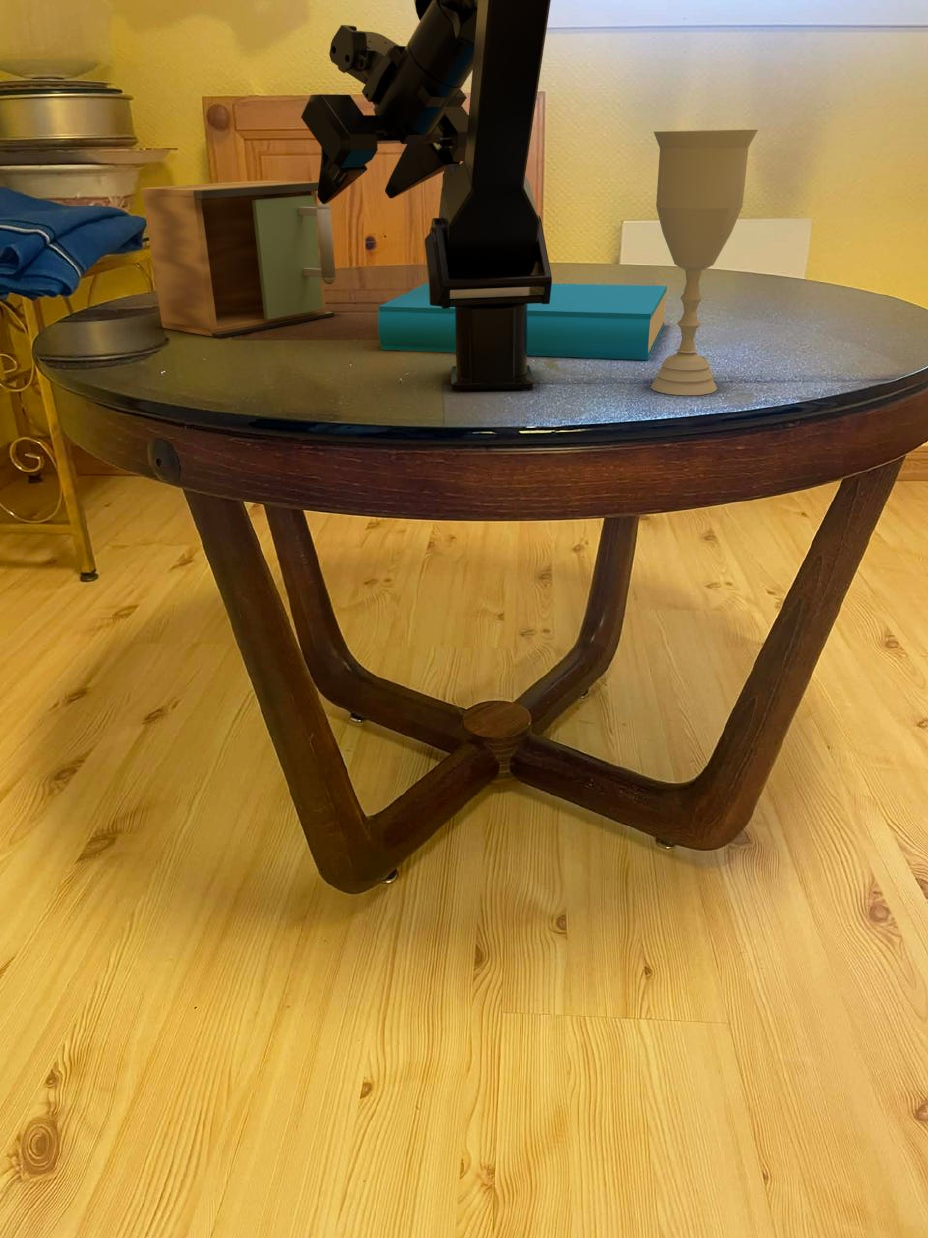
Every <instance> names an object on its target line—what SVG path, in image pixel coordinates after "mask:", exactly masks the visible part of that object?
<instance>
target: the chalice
mask: <svg viewBox="0 0 928 1238" xmlns="http://www.w3.org/2000/svg"><path fill="white" fill-rule="evenodd" d="M758 131H759V129H696V130H695V129H694V130H657V131H656V130H655V131H653V134H654V137H655V140H656V143H657V144H658V147H659V155H658V156H659V157H658V170H657V171H658V172H657V186H656V200H655V201H656V203H655V208H656V210H657V215H658V219H659V223H660V228H661V232H662V235H663V238H664V240H665V243H666V245H667V248H668V250H669V253H670V256H671V258H672V261H673V264H674V265H675V266H677V267H678V268H680V269H682V270H684V272H685V278H686V279H685V280H686V281H685V285H684V290H683V294H681V296H680V297H679V298H680V300H681V302H682V306H683V313H682V316H681V319H680V320H678V321H677V325H678V327H679V329H680V334H681V341H680V345H679V348H678V349H676V350H675V351H676V353H674V354H672V355H668V356H667V357H666V358H665V359H664V360H663V361H662V362H661V364H660V365H661V367H660V368H659V370H658V372H656V378H655V379H654V381H653V382H652V383H651V386H650V388H651V389H652V390H653V391H655V392H658V393H662V394H666V395H673V396H701V395H708V394H712V393H714V392H716V391H717V390H718V387H717V385H716V383H715V381H714V380H713V379H714V374H713V372H712V370H711V368H710V367H711V364H710V363H709V361H708V360H707V358H706V357H705V356H703V355H699V354H698V350H697V349H696V347H695V336H696V332H697V329H698V328H699V327H700V326H701V325H702V323H701V322H700V320H699V319H698V313H697V310H698V307H699V304H700V303H701V301H702V299H703V297H702V295H701V291H700V279H701V275H702V271H704V270H707V269H708V268H710V267H712V266H714V265H715V263H716V261H717V260H718V258H719V256H720V254H721V253H722V251H723V249H724V247H725V245H726V243H727V241H728V240H729V238H730V236H731V234H732V232H733V231H734V227H735V225H736V222H737V220H738V218H739V216H740V213H741V211H742V208H743V206H744V205H743V204H744V195H745V187H746V186H745V185H746V176H747V167H748V166H747V165H748V156H749V147H750V145H751V144H752V142H753V140H754V139H755V136H756V135H757V133H758Z"/></svg>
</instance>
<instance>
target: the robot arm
mask: <svg viewBox="0 0 928 1238" xmlns="http://www.w3.org/2000/svg"><path fill="white" fill-rule="evenodd" d="M551 2H552V0H413V3H414V7H415V12H416V15H417V18H418V20H419V22H418V24H417V26H416V28H415V29H414V31H413V33H412V35H411V36H410V38H409V41H408V42H407V44H406V45H399V44H398V43H397V42H395V41H394V40H391V39H390V38H388V37H387V36H385V35H383V34H381V33H378V32H374V31H367V30H366V31H365V30H358V28H357V26H355V25H348V24H341V25H340V27H339V28H338V30H337V31H336V32H335V34H334V36H333V37H332V40H331V42H330V48H329V53H328V55H329V59H330V62H331V63H333V64H334V65H336V66H337V70H338V71H340V72H341V73H343V74H348V75H349V76H351V77H352V78H354V79H356V80H357V81H359V82H360V83H361V84H363V85H364V86H363V88H362V90H361V93H362V95H363V97H364V98H365V99H366V101H367V102H368V103H372V104H373V106H374V108H373V113H374V114H363V111H362V110H361V109H360V108H359V105H357V103H356V102H355V100H354V99H353V98H352V96H351V95H350V94H327V93H326V94H325V93H323V94H322V93H321V94H319V93H318V94H311V95H310V96H309V97H308V100H307V102H306V104H305V106H304V108H303V110H302V112H301V114H300V115H301V116H300V118H301V120H302V121H303V122H304V124H305V125H306V127H307V128H308V130H309V132H310V133H311V134H312V136H313V137H314V138H315V140H316V141H317V144H319V146H320V152H321V153H320V166H319V167H320V168H319V176H318V182H319V183H318V191H316V192H317V200H319V203H320V202H321V203H322V204H327V203H328V204H329V203H330V202H332V200H334V199H335V198H337V197H338V196H339V195H340V194H341V193H342V192H343V191H344V190H346V189H347V188H348V187H349V186H350V185H351V184H353V183H354V182H355V181H356V180H358V179H359V178H360V177H361V176H362V175H364V173H366V172H367V171H368V167H367V165H366V164H368V163H369V162H371V161H373V159H374V158H375V156H376V154H377V153H378V151H379V149H378V145H387V144H389V145H390V144H391V145H392V144H401V145H405V147H404V149H403V151H402V153H401V155H400V157H399V158H398V161H397V163H396V165H395V166H394V168H393V170H392V172H391V175H390V177H389V179H388V181H387V183H386V186H385V189H384V193H385V194H386V196H387V197H388V199H394V198H396V197H399V196H400V195H401V194H404V193H406V192H408V191H409V190H411V189H413V188H415V187H417V186H419V185H420V184H422V183H424V182H425V181H428V180H429V179H433V178H434V177H436V176H438V175H440V174H441V173H442V180H441V181H442V182H441V183H442V184H441V189H440V190H441V191H440V198H439V210H438V217H434V218H432V219H431V224H430V228H429V233H428V234H427V235H426V236H425V238H424V252H425V259H426V260H425V261H426V269H427V270H426V271H427V278H428V282H429V301H430V305H432V306H441V307H442V308H443V309H447V308H450V307H455V333H456V353H455V365H454V366H451V375H450V376H451V377H450V389H452V390H502V389H504V390H506V389H533V388H534V385H535V381H534V377H533V373H532V370H531V366H530V365H528V355H527V308H528V304H534V303H541V304H549V303H550V295H551V286H552V284H553V276H552V271H551V265H550V260H549V254H548V249H547V243H546V238H545V232H544V227H543V222H542V219H541V216H540V215H539V214H538V211H537V206H536V202H535V199H534V195H533V191H532V188H531V184H530V181H529V180H528V178H527V176H526V173H527V167H528V158H529V153H530V152H529V151H530V145H531V137H532V131H533V125H534V119H535V118H534V117H535V110H536V106H537V105H536V104H537V97H538V91H539V84H540V76H541V69H542V64H543V63H542V62H543V56H544V51H545V50H544V49H545V43H546V35H547V28H548V22H549V16H550V8H551ZM470 76H471V82H470V92H469V94H470V95H469V107H468V112H467V111H466V110H465V108H464V107H463V104H464V103H465V102H466V100H467V99H468V98H467V97H468V96H466V94H465V93H464V91H463V90H462V88H463V86H464V85H465V83H466V81H467V79H468V78H469V77H470ZM517 287H518V288H517ZM493 288H494V289H493ZM469 289H470V290H469Z"/></svg>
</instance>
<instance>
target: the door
mask: <svg viewBox="0 0 928 1238" xmlns="http://www.w3.org/2000/svg"><path fill="white" fill-rule="evenodd" d="M252 206H253V216H254V225H255V235H256V244H257V254H258V263H259V273H260V282H261V291H262V301H263V310H264V319H265V320H271V319H277V318H282V317H287V316H293V315H298V314H303V313H308V312H314V311H319V310H323V304H322V292H321V279H320V278H322V279H323V282H324V284H326V285H331V284H334V282H335V281H336V266H335V264H336V263H335V253H334V252H335V251H334V238H333V224H332V223H333V222H332V209H331V205H330V204H329V202H328V203H327V204H322V203H321V202H320V201H319V203H317V207H315V203H314V195H304V196H291V197H279V198H266V199H254V200H252ZM316 216H317V219H318V232H319V245H320V258H321V269H320V267H319V254H318V241H317V229H316Z"/></svg>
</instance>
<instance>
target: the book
mask: <svg viewBox="0 0 928 1238" xmlns="http://www.w3.org/2000/svg"><path fill="white" fill-rule="evenodd" d="M517 288H518V287H517ZM493 289H494V288H493ZM469 290H470V289H469ZM667 292H668V286H667V285H645V284H644V285H643V284H642V285H640V284H639V285H637V284H598V283H597V284H592V283H591V284H589V283H552V286H551V295H550V303H549V304H541V303H534V304H528V308H527V356H534V357H560V358H586V359H609V360H610V359H613V360H615V359H616V360H635V361H648V360H649V359H650V357H651V355H652V352H653V351H654V348H655V346H656V344H657V342H658V340H659V338H660V336H661V334H662V332H663V330H664V328H665V309H666V297H667V296H666V294H667ZM377 332H378V339H379V343H380V350H382V351H404V352H405V351H407V352H428V353H429V352H432V353H455V354H456V333H455V307H450V308H447V309H443V308H442V307H441V306H432V305H430V301H429V281H428V282H426V283H423V284H422V285H420V286H418V287H416V288H414V289H411V290H409V291H408V292H406V293H403V294H401V295H399V296H397V297H395V298H393V299H391V300H389V301H386V302H385V303H383V304H381V305H379V306H378V319H377Z"/></svg>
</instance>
